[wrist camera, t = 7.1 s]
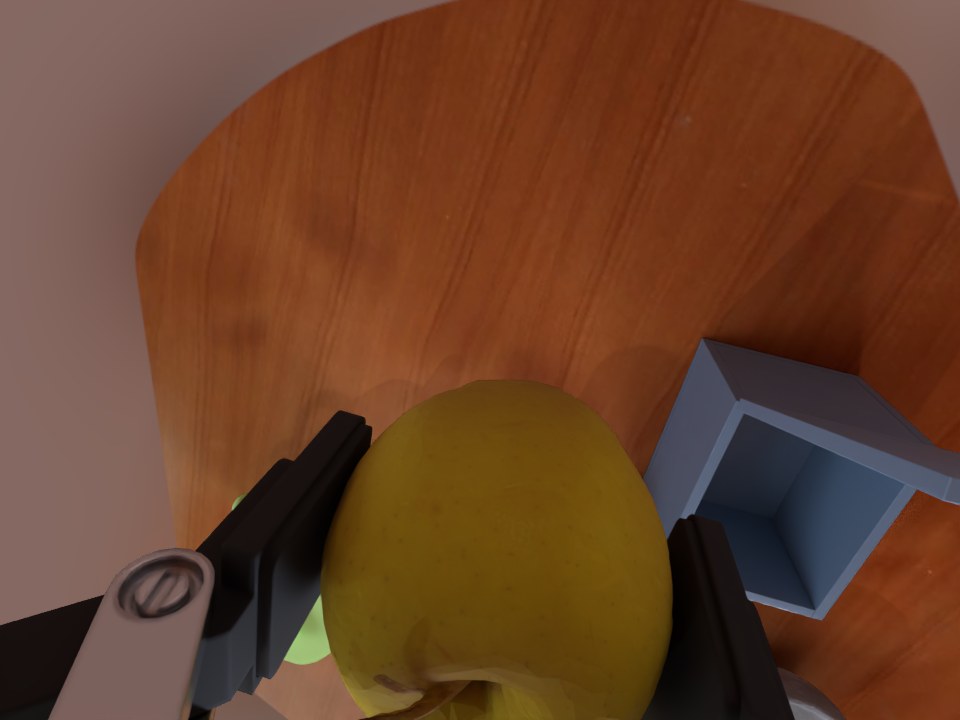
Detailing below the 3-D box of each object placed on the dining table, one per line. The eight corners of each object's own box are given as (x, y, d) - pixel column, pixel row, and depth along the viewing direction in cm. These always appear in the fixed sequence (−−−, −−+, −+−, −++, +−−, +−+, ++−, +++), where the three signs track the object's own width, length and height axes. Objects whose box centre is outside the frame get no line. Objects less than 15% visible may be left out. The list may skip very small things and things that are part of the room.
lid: (1396, 619, 15) (1408, 593, 15) (942, 500, 16) (951, 476, 16) (946, 463, 31) (950, 450, 31) (736, 409, 32) (740, 397, 32)
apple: (376, 341, 13) (128, 601, 6) (638, 312, 12) (718, 615, 4) (432, 536, 16) (301, 885, 8) (653, 534, 14) (722, 959, 7)
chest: (774, 521, 48) (821, 620, 38) (640, 484, 49) (653, 572, 39) (859, 376, 41) (943, 452, 32) (701, 337, 42) (736, 400, 33)
